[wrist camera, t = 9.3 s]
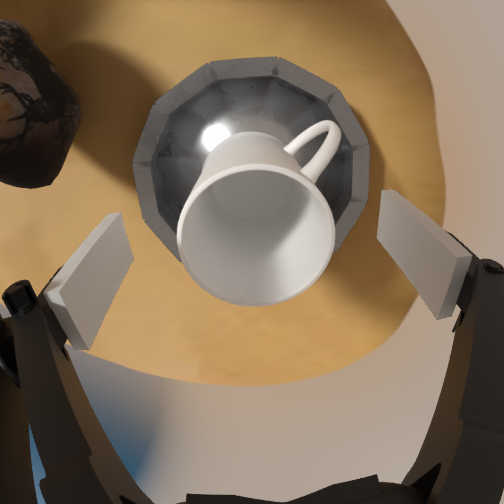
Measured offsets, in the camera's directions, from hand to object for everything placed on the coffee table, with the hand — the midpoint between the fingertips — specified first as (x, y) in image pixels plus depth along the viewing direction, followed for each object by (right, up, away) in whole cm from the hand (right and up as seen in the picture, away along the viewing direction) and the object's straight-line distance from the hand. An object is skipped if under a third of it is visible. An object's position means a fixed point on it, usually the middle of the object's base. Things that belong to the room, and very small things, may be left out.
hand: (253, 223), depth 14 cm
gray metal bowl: (0, +6, +11) cm, 13 cm away
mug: (+1, +6, +11) cm, 12 cm away
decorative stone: (-19, +14, +6) cm, 24 cm away
